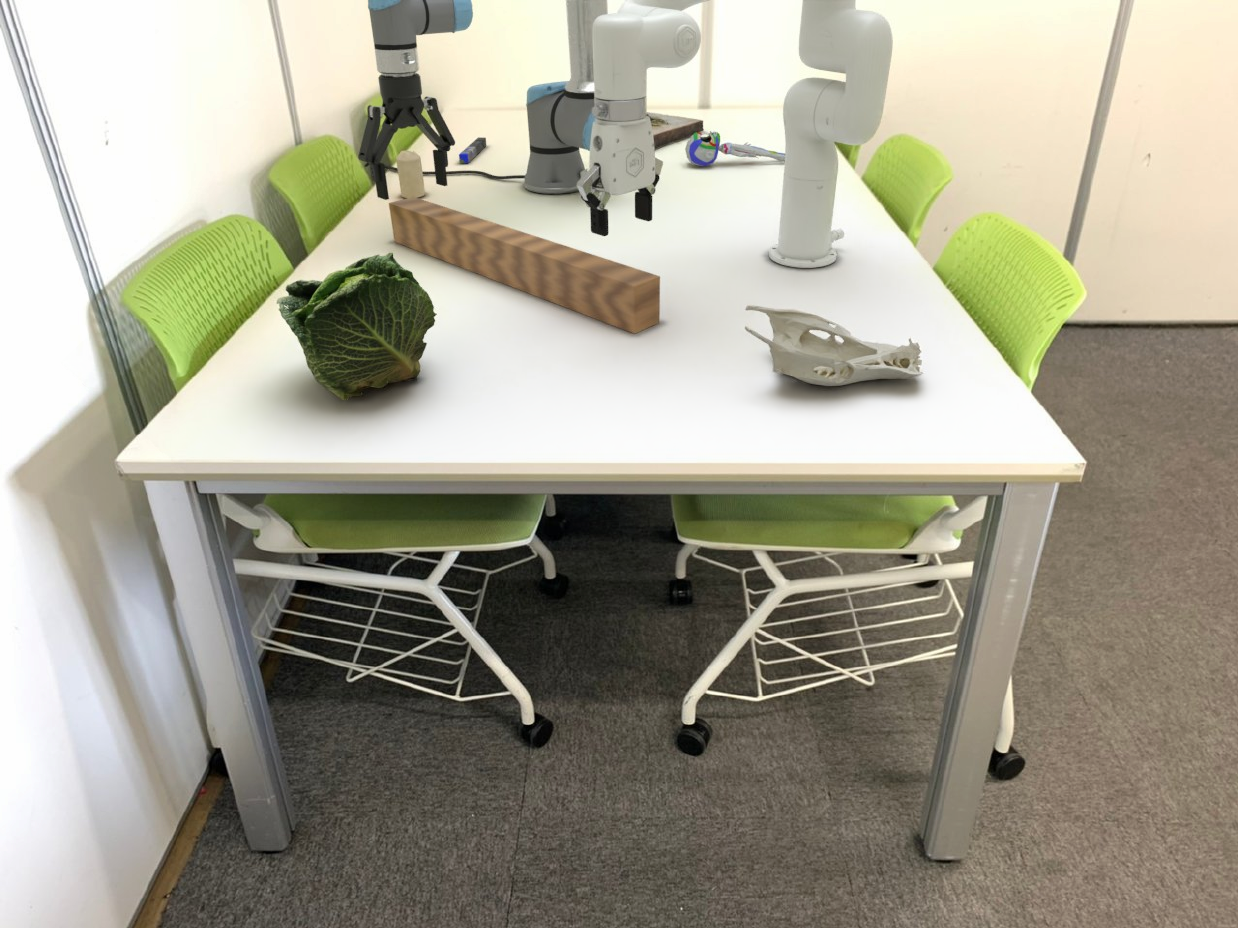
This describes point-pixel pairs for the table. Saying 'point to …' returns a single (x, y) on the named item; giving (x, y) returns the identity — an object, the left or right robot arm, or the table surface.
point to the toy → (721, 149)
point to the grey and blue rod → (472, 150)
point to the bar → (530, 264)
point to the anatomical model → (832, 351)
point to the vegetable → (360, 325)
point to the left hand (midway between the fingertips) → (413, 191)
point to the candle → (410, 174)
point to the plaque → (672, 128)
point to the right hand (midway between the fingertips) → (622, 226)
